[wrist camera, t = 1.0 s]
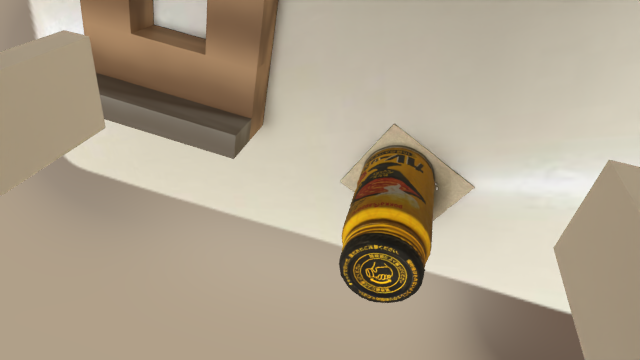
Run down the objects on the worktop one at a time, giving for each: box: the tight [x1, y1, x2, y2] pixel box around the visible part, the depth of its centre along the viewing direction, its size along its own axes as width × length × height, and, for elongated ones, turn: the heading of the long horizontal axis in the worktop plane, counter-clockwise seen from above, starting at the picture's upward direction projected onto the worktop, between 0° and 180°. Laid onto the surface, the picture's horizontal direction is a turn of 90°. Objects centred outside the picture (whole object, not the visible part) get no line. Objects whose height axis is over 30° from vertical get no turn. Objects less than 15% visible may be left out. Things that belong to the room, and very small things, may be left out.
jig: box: [80, 0, 278, 159], centre depth 30 cm, size 15×14×6 cm
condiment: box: [339, 125, 475, 303], centre depth 31 cm, size 7×8×12 cm
